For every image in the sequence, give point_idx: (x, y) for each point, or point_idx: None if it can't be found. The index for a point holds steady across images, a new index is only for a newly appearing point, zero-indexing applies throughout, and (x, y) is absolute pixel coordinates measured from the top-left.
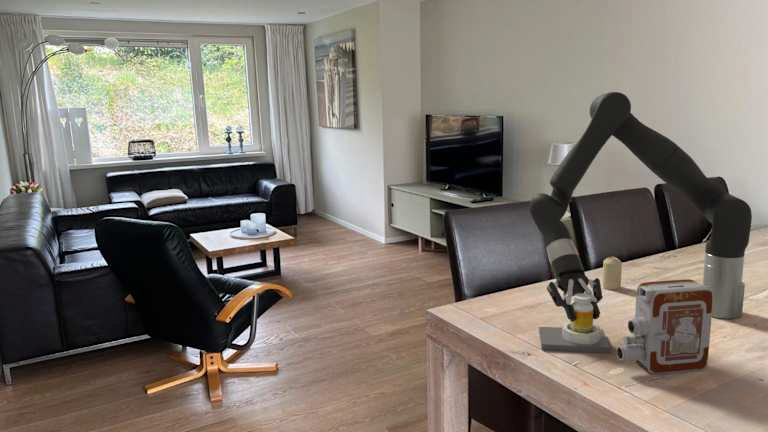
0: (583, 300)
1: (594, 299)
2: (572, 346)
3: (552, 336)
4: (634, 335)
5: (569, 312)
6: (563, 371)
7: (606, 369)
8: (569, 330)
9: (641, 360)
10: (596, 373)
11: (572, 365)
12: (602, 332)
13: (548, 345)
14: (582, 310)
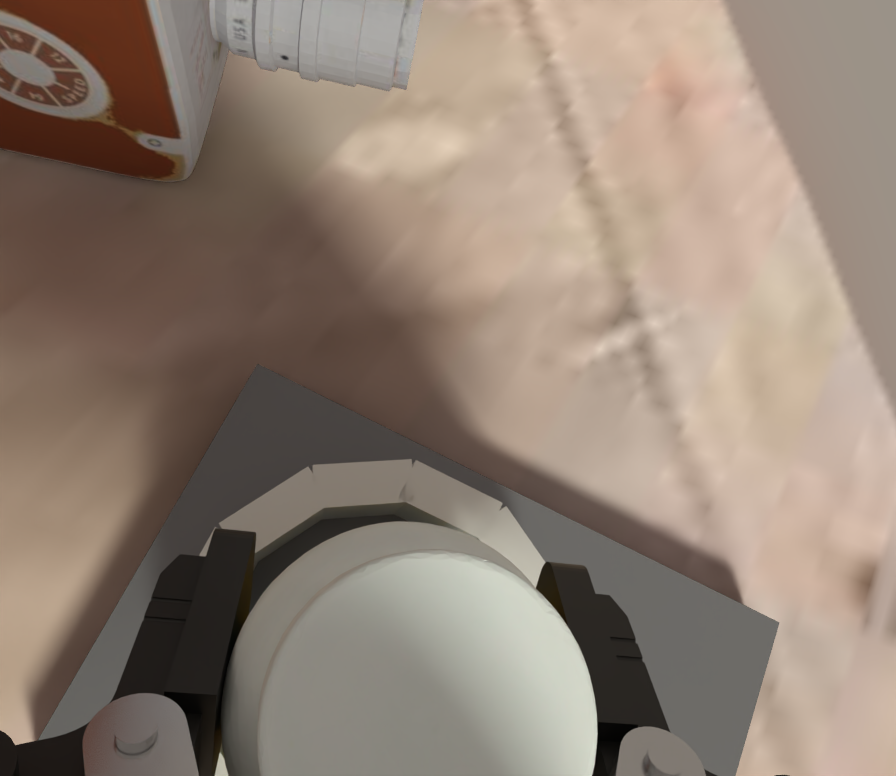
0: (497, 568)
1: (140, 726)
2: (543, 509)
3: None
4: (175, 26)
5: (628, 649)
6: (734, 266)
7: (455, 185)
8: None
9: (226, 48)
10: (549, 168)
11: (642, 313)
12: (84, 694)
13: (725, 596)
14: (488, 549)
